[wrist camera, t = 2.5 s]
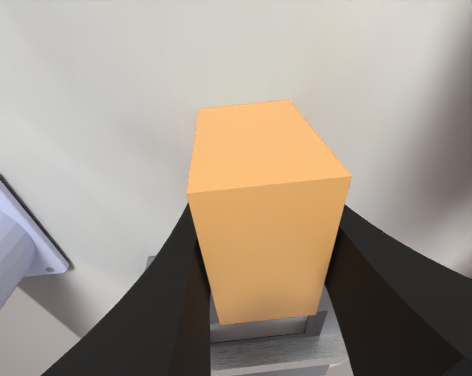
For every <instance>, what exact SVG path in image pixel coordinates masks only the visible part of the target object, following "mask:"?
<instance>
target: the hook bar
mask: <svg viewBox="0 0 472 376" xmlns="http://www.w3.org/2000/svg"><path fill="white" fill-rule="evenodd" d="M210 360H211V376H234V375H242V374H251V373H259V372H268V371H277V370H285V369H294V368H303V367H311V366H320V365H329V364H337V363H346V362H349V357H348V354H347V350H346V347H345V344H344V341H343V337H342V334H341V333H335V334H326V335H318V336H309V337H300V338H291V339H283V340H274V341H265V342H256V343H248V344H239V345H230V346H221V347H213V348H210Z"/></svg>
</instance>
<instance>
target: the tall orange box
mask: <svg viewBox="0 0 472 376" xmlns="http://www.w3.org/2000/svg"><path fill="white" fill-rule="evenodd" d="M351 177H352V176H351V174H350V173H349V172H348V171H347V170H346V168H345V167H344V166H343V165H342V163H341V162H340V161H339V160H338V159H337V157H336V156H335V155H334V154H333V152H332V151H331V150H330V149H329V148H328V146H327V145H326V144H325V143H324V141H323V140H322V139H321V138H320V136H319V135H318V134H317V133H316V132H315V130H314V129H313V128H312V127H311V125H310V124H309V123H308V122H307V121H306V119H305V118H304V117H303V116H302V114H301V113H300V112H299V111H298V109H297V108H296V107H295V106H294V105H293V103H292V102H291V101H290V100H281V101H271V102H262V103H252V104H242V105H232V106H222V107H212V108H203V109H199V111H198V118H197V124H196V131H195V138H194V145H193V152H192V158H191V165H190V172H189V179H188V185H187V192H186V194H187V198H188V202H189V206H190V210H191V214H192V218H193V222H194V225H195V229H196V233H197V237H198V241H199V245H200V249H201V253H202V256H203V260H204V264H205V268H206V272H207V276H208V280H209V284H210V287H211V291H212V295H213V299H214V303H215V307H216V311H217V315H218V318H219V322H220V325H228V324H237V323H246V322H255V321H264V320H273V319H282V318H290V317H299V316H308V315H316V312H317V309H318V305H319V301H320V297H321V293H322V289H323V285H324V282H325V278H326V274H327V270H328V266H329V262H330V258H331V254H332V251H333V247H334V243H335V239H336V235H337V231H338V227H339V223H340V220H341V216H342V212H343V208H344V204H345V200H346V196H347V193H348V189H349V185H350V181H351Z"/></svg>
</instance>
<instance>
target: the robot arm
mask: <svg viewBox="0 0 472 376" xmlns="http://www.w3.org/2000/svg"><path fill="white" fill-rule="evenodd" d="M68 268H69V264H68V262H67V261H66V260H65V259H64V257H63V256H62V255H61V254H60V252H59V251H58V250H57V249H56V248H55V246H54V245H53V244H52V243H51V242H50V240H49V239H48V238H47V237H46V235H45V234H44V233H43V232H42V231H41V229H40V228H39V227H38V226H37V224H36V223H35V222H34V221H33V220H32V218H31V217H30V216H29V215H28V213H27V212H26V211H25V210H24V209H23V207H22V206H21V205H20V204H19V202H18V201H17V200H16V199H15V198H14V196H13V195H12V194H11V193H10V191H9V190H8V189H7V188H6V187H5V185H4V184H3V183H2V182H1V180H0V309H1V308H2V306H3V305H4V304H5V302H6V301H7V299H8V298H9V297H10V295H11V294H12V292H13V291H14V289H15V288H16V287H17V285H18V284H19V282H20V281H21V280H22V278H23V277H31V276H40V275H49V274H59V273H64V272H66V271H67V270H68ZM324 285H325V287H326V290H327V292H328V295H329V297H330V300H331V303H332V306H333V309H334V312H335V315H336V318H337V321H338V324H339V328H340V331H341V334H342V337H343V341H344V344H345V347H346V350H347V354H348V357H349V361H350V364H351V368H352V371H353V375H354V376H472V279H470V278H468V277H465V276H463V275H461V274H459V273H457V272H455V271H453V270H451V269H449V268H447V267H445V266H443V265H441V264H439V263H437V262H435V261H433V260H431V259H429V258H427V257H425V256H423V255H422V254H420V253H418V252H416V251H414V250H412V249H411V248H409V247H407V246H406V245H404V244H402V243H401V242H399V241H397V240H395V239H394V238H392V237H390V236H389V235H387V234H386V233H384V232H383V231H381V230H380V229H378V228H377V227H375V226H374V225H372V224H371V223H369V222H368V221H366V220H365V219H364V218H362V217H361V216H359V215H358V214H357V213H355V212H354V211H353V210H351V209H350V208H349V207H347V206H346V205H345V204H344V208H343V212H342V216H341V220H340V223H339V227H338V231H337V235H336V239H335V243H334V247H333V251H332V254H331V258H330V262H329V266H328V270H327V274H326V278H325V282H324ZM210 296H211V287H210V284H209V280H208V276H207V272H206V268H205V264H204V260H203V256H202V253H201V249H200V245H199V241H198V237H197V233H196V229H195V225H194V222H193V218H192V214H191V210H190V206H189V202H188V204H187V206H186V208H185V210H184V212H183V214H182V215H181V217H180V219H179V221H178V223H177V224H176V226H175V228H174V229H173V231H172V233H171V235H170V236H169V238H168V239H167V241H166V242H165V244H164V245H163V247H162V248H161V250H160V251H159V253H158V254H157V256H156V257H155V258H154V260H153V261H152V263H151V264H150V265H149V266H148V268H147V269H146V270H145V272H144V273H143V274H142V275H141V277H140V278H139V279H138V280H137V281H136V283H135V284H134V285H133V286H132V287H131V288H130V290H129V291H128V292H127V293H126V294H125V295H124V296H123V298H122V299H121V300H120V301H119V302H118V303H117V304H116V305H115V306H114V307H113V308H112V309H111V310H110V311H109V312H108V313H107V314H106V315H105V316H104V317H103V318H102V319H101V320H100V321H99V322H98V323H97V324H96V325H95V326H94V327H93V328H92V329H91V330H90V331H89V332H88V333H87V334H86V335H85V336H84V337H83V338H82V339H81V340H80V341H79V342H78V343H77V344H76V345H75V346H73V347H72V348H71V349H70V350H69V351H68V352H67V353H66V354H64V355H63V356H62V357H61V358H60V359H59V360H58V361H57V362H56V363H54V364H53V365H52V366H51V367H50V368H49V369H48V370H47V371H46V372H44V373H43V374H42V375H41V376H211V360H210Z"/></svg>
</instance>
